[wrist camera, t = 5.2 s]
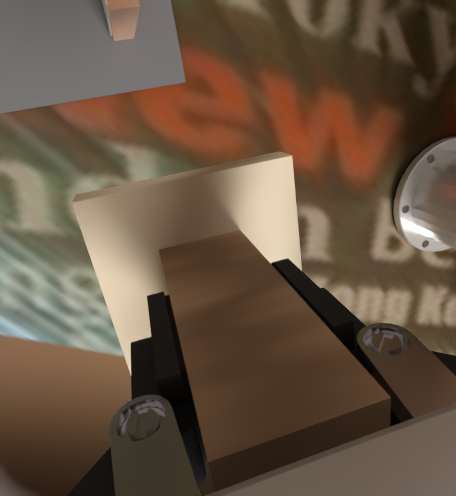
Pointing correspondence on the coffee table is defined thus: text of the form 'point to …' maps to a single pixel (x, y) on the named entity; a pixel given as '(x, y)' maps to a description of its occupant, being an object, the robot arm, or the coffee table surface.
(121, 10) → the tile
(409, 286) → the coffee table surface
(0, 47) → the mat
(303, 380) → the square post stand
